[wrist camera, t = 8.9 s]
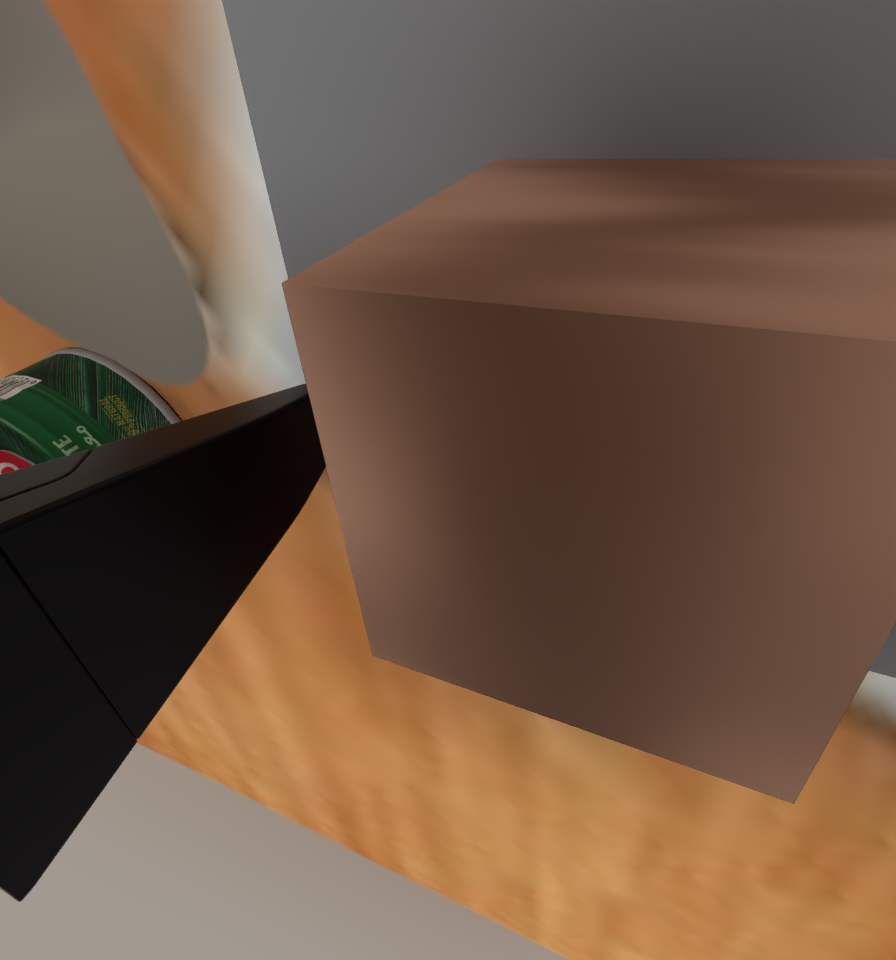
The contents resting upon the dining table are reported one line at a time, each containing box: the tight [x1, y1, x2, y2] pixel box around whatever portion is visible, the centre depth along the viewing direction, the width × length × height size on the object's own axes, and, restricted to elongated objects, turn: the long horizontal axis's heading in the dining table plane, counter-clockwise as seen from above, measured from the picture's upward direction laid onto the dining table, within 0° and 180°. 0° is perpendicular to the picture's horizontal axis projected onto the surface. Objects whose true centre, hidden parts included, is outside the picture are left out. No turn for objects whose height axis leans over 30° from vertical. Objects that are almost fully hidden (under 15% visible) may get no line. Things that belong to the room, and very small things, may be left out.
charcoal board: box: [222, 0, 896, 678], centre depth 12 cm, size 16×14×2 cm
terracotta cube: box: [282, 159, 896, 804], centre depth 9 cm, size 6×6×6 cm
